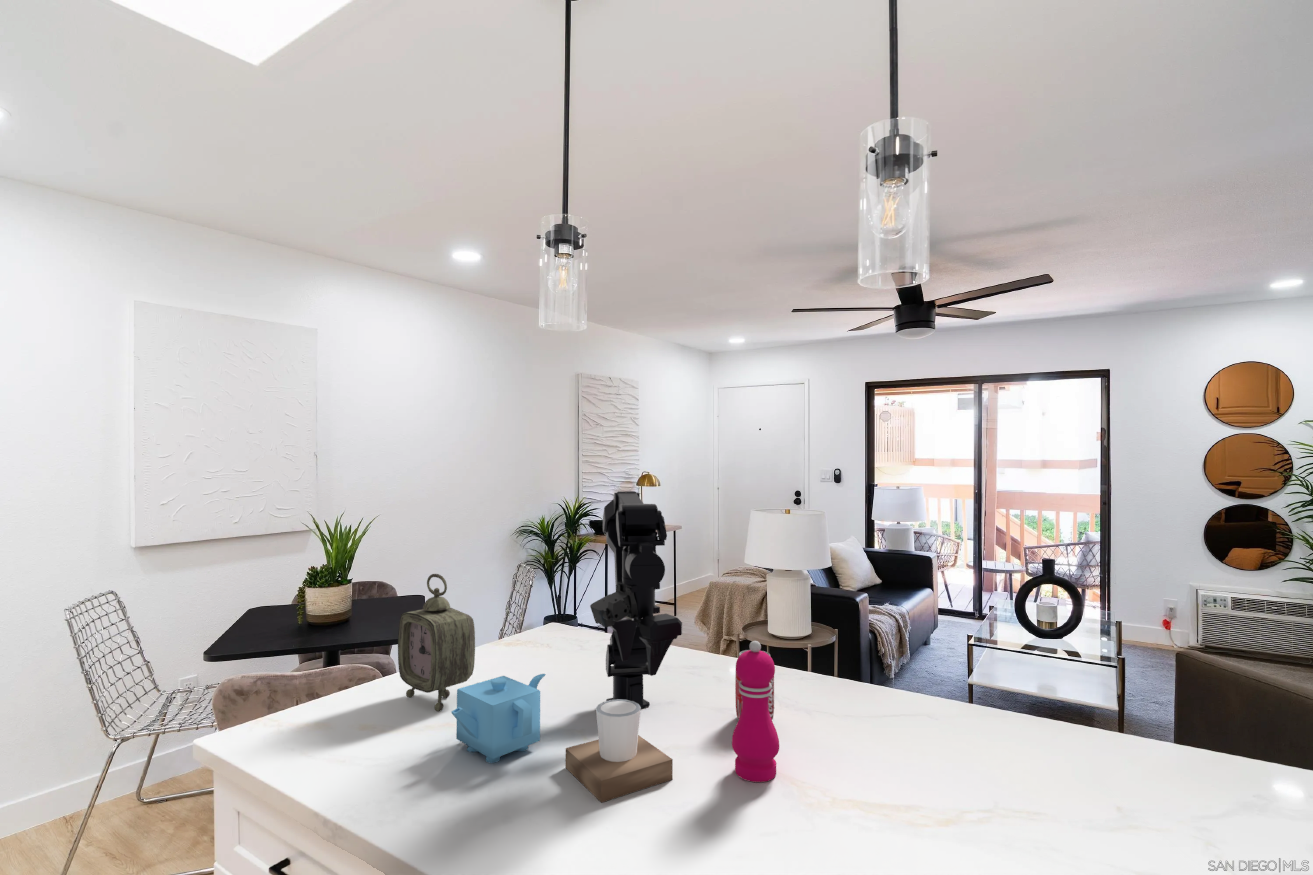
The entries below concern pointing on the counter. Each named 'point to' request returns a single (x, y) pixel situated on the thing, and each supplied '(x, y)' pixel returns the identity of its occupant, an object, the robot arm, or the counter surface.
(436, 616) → the tabletop clock
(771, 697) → the soda can
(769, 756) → the pepper mill
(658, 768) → the walnut base block
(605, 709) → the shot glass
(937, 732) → the counter surface
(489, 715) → the teapot
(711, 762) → the counter surface
